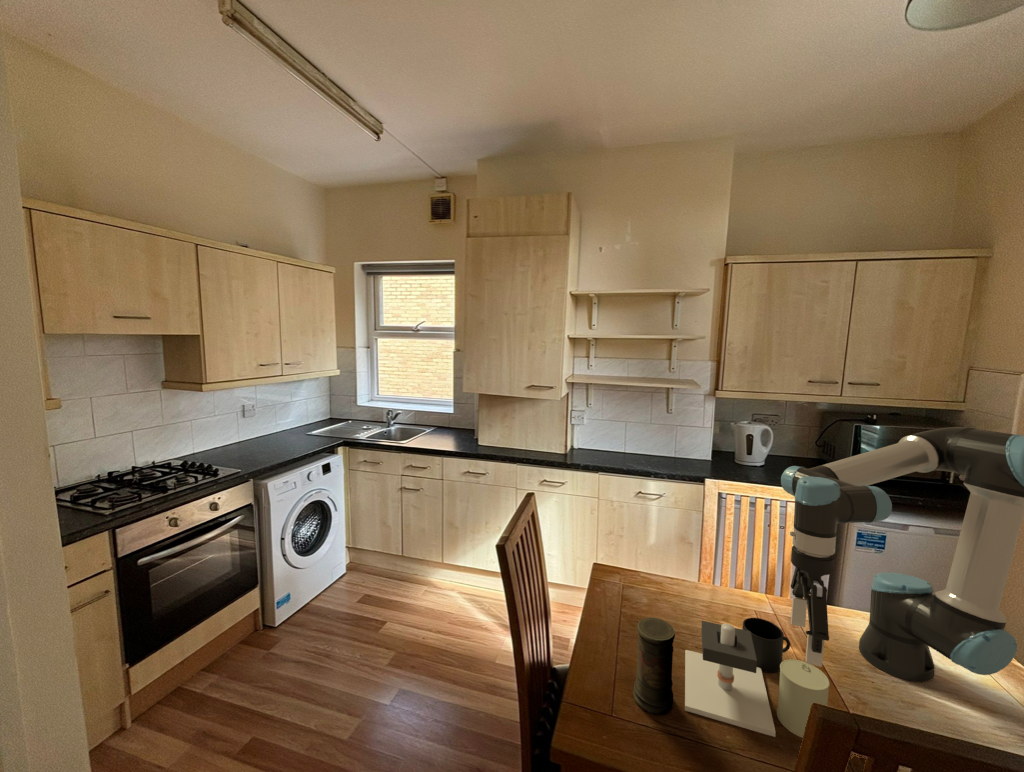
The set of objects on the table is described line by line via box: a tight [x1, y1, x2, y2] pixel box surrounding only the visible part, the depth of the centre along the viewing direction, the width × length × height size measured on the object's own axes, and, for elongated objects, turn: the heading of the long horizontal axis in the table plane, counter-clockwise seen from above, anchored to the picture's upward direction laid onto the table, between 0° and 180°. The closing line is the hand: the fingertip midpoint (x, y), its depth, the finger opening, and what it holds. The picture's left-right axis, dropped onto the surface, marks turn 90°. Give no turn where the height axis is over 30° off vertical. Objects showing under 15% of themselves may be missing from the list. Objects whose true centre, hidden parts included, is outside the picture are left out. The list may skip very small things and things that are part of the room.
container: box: [633, 616, 676, 716], centre depth 102 cm, size 9×9×18 cm
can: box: [776, 658, 831, 739], centre depth 96 cm, size 9×9×12 cm
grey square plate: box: [701, 620, 757, 673], centre depth 104 cm, size 11×11×3 cm
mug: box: [742, 617, 791, 674], centre depth 115 cm, size 9×12×9 cm
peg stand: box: [684, 623, 776, 738], centre depth 105 cm, size 18×20×16 cm
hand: (805, 643), depth 95 cm, fingers open, 13 cm apart
